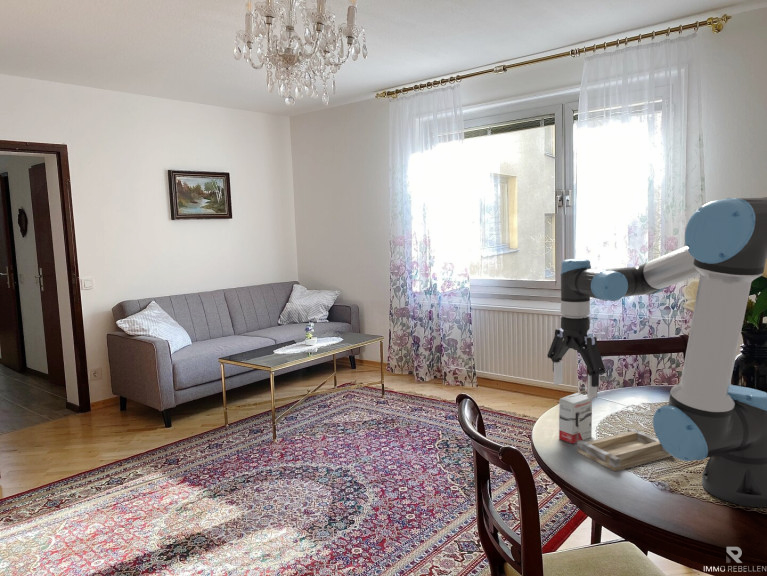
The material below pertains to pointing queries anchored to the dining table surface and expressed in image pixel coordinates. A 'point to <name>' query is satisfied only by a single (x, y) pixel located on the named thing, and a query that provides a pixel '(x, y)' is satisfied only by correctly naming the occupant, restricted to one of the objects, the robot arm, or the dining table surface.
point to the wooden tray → (623, 450)
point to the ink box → (575, 418)
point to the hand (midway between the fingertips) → (574, 390)
